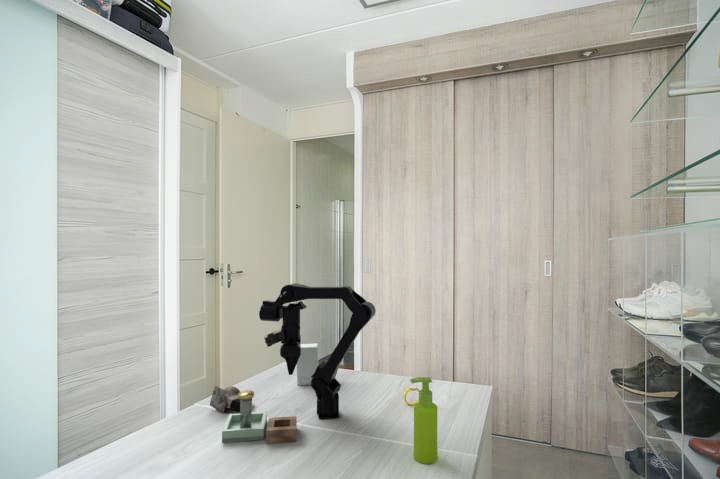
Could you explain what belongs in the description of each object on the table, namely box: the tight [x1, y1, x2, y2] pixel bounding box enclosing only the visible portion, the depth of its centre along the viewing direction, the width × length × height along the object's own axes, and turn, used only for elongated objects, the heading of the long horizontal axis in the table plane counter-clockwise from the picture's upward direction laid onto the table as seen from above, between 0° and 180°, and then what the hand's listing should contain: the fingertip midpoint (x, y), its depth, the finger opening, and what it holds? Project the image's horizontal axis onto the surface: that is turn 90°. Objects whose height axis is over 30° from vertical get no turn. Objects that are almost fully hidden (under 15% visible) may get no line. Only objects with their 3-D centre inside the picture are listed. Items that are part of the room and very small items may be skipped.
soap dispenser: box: [409, 376, 438, 465], centre depth 98 cm, size 6×7×20 cm
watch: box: [403, 385, 420, 406], centre depth 132 cm, size 6×3×6 cm, turn 98°
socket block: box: [265, 415, 298, 445], centre depth 109 cm, size 8×8×4 cm
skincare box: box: [296, 342, 319, 386], centre depth 152 cm, size 8×6×15 cm
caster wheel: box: [209, 385, 241, 414], centre depth 128 cm, size 7×11×10 cm
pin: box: [238, 389, 255, 428], centre depth 111 cm, size 4×4×10 cm
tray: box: [221, 411, 268, 443], centre depth 111 cm, size 11×11×3 cm
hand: (290, 370), depth 126 cm, fingers open, 9 cm apart
